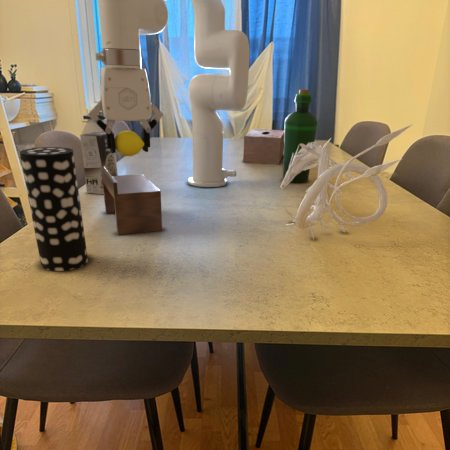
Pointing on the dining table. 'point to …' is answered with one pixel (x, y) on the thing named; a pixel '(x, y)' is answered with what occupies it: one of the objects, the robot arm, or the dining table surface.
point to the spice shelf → (132, 202)
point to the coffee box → (97, 160)
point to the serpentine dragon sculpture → (320, 186)
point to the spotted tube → (55, 207)
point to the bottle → (299, 132)
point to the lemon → (128, 143)
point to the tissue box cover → (263, 146)
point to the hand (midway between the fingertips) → (129, 150)
